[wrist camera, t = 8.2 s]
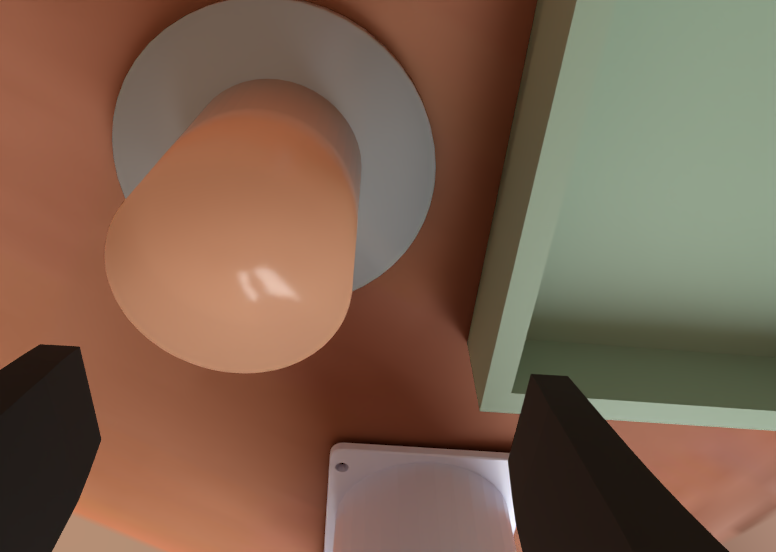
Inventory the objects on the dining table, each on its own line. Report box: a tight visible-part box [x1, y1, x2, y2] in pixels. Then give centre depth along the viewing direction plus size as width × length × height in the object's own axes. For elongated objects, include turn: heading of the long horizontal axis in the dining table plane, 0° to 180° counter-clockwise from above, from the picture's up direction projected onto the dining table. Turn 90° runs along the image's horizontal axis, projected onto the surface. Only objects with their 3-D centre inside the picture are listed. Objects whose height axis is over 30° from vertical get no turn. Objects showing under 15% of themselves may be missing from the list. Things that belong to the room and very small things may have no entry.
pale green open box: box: [467, 0, 776, 431], centre depth 16 cm, size 16×13×3 cm
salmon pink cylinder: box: [104, 79, 362, 373], centre depth 14 cm, size 5×5×6 cm
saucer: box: [112, 0, 436, 291], centre depth 17 cm, size 9×9×1 cm
